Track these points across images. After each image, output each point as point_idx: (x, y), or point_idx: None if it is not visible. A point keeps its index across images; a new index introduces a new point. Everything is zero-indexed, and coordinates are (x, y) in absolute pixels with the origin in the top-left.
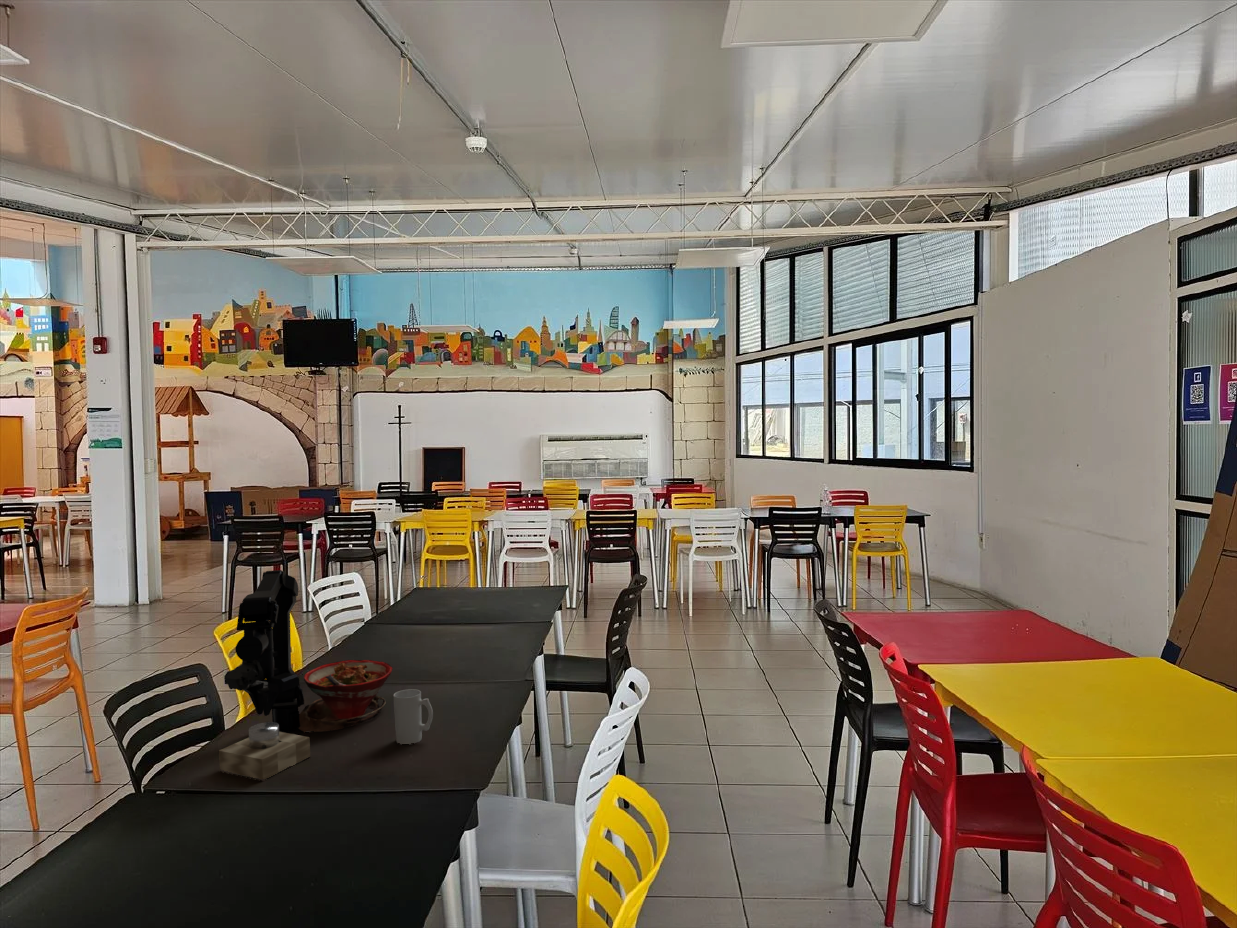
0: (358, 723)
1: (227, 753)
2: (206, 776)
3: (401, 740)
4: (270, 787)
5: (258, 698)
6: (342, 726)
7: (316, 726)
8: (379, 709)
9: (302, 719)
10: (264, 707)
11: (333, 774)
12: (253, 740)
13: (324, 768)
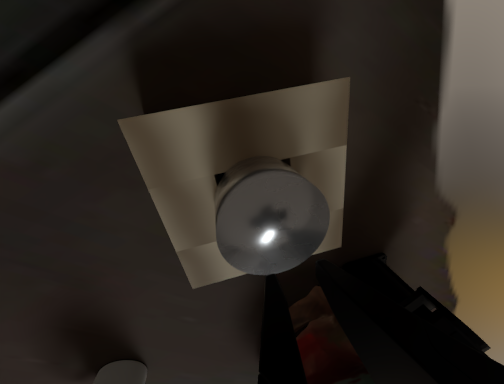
0: None
1: (305, 85)
2: (318, 38)
3: (106, 371)
4: (74, 100)
5: (398, 372)
6: None
7: (312, 305)
8: None
9: None
10: (272, 325)
11: (43, 242)
12: (255, 167)
13: (104, 244)
